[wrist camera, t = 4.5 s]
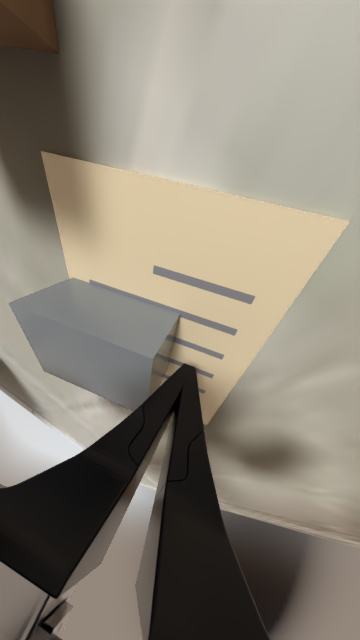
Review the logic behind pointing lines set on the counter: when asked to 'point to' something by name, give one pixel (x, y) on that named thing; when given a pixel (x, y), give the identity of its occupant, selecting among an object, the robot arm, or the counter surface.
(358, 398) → the counter surface
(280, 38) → the counter surface
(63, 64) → the counter surface
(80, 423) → the counter surface
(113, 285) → the letter
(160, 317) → the paperweight
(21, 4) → the walnut cube
